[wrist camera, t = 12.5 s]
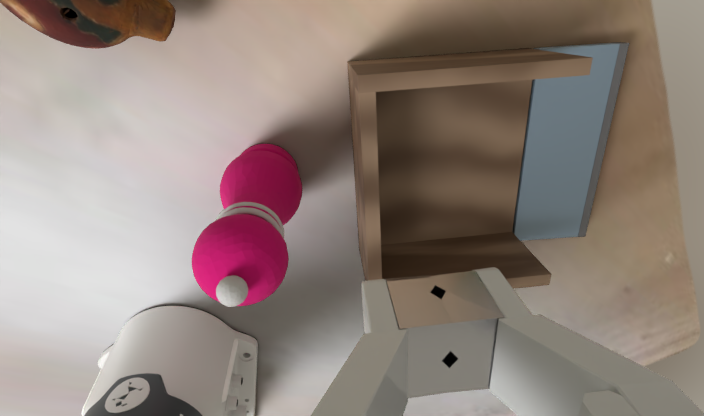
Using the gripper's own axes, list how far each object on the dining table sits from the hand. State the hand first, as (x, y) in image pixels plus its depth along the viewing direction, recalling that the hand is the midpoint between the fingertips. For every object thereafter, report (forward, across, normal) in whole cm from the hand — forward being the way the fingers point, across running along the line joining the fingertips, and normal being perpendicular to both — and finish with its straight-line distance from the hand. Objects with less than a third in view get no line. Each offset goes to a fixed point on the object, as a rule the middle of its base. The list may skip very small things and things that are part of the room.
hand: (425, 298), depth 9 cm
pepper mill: (+31, -8, -8) cm, 33 cm away
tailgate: (+30, +18, -8) cm, 36 cm away
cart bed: (+31, +9, -8) cm, 33 cm away
